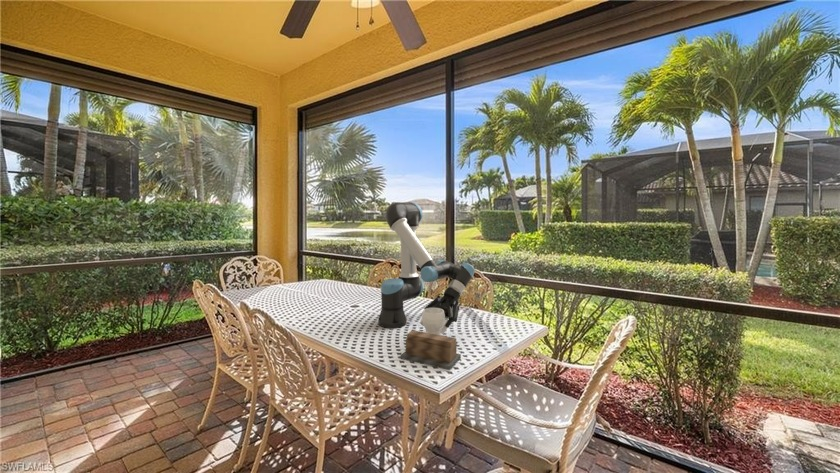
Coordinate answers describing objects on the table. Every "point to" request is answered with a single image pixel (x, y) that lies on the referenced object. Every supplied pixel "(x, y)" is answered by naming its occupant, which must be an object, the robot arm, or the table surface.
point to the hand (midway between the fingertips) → (431, 328)
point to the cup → (433, 320)
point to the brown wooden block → (431, 349)
